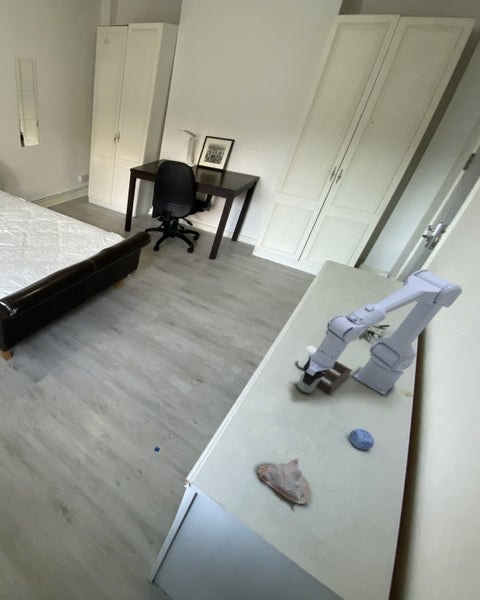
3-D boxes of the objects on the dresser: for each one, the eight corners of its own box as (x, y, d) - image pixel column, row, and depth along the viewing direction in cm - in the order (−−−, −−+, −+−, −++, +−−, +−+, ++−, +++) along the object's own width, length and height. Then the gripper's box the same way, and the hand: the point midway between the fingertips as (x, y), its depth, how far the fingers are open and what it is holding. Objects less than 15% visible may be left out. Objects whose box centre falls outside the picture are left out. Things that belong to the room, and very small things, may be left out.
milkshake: (313, 372, 118) (326, 352, 112) (297, 369, 118) (310, 349, 113) (309, 363, 121) (321, 343, 116) (293, 360, 122) (305, 341, 116)
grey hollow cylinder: (312, 395, 108) (326, 374, 102) (296, 389, 110) (310, 368, 104) (312, 386, 111) (326, 365, 105) (297, 380, 113) (310, 359, 107)
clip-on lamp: (359, 326, 146) (357, 337, 133) (365, 313, 144) (363, 323, 131) (393, 336, 139) (394, 349, 126) (400, 323, 137) (402, 335, 124)
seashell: (311, 515, 78) (330, 497, 73) (258, 493, 82) (272, 475, 77) (305, 476, 86) (322, 457, 81) (257, 458, 90) (269, 439, 84)
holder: (348, 375, 117) (352, 370, 115) (328, 393, 110) (332, 388, 108) (323, 361, 123) (327, 355, 121) (303, 377, 115) (306, 372, 114)
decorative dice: (353, 447, 94) (360, 439, 91) (347, 435, 97) (354, 427, 95) (368, 451, 93) (376, 443, 91) (362, 438, 96) (370, 430, 94)
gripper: (326, 335, 107) (308, 364, 114) (304, 351, 100) (287, 381, 107) (350, 347, 102) (329, 377, 110) (329, 365, 95) (308, 395, 103)
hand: (309, 380), depth 108 cm, fingers closed on grey hollow cylinder, 4 cm apart
